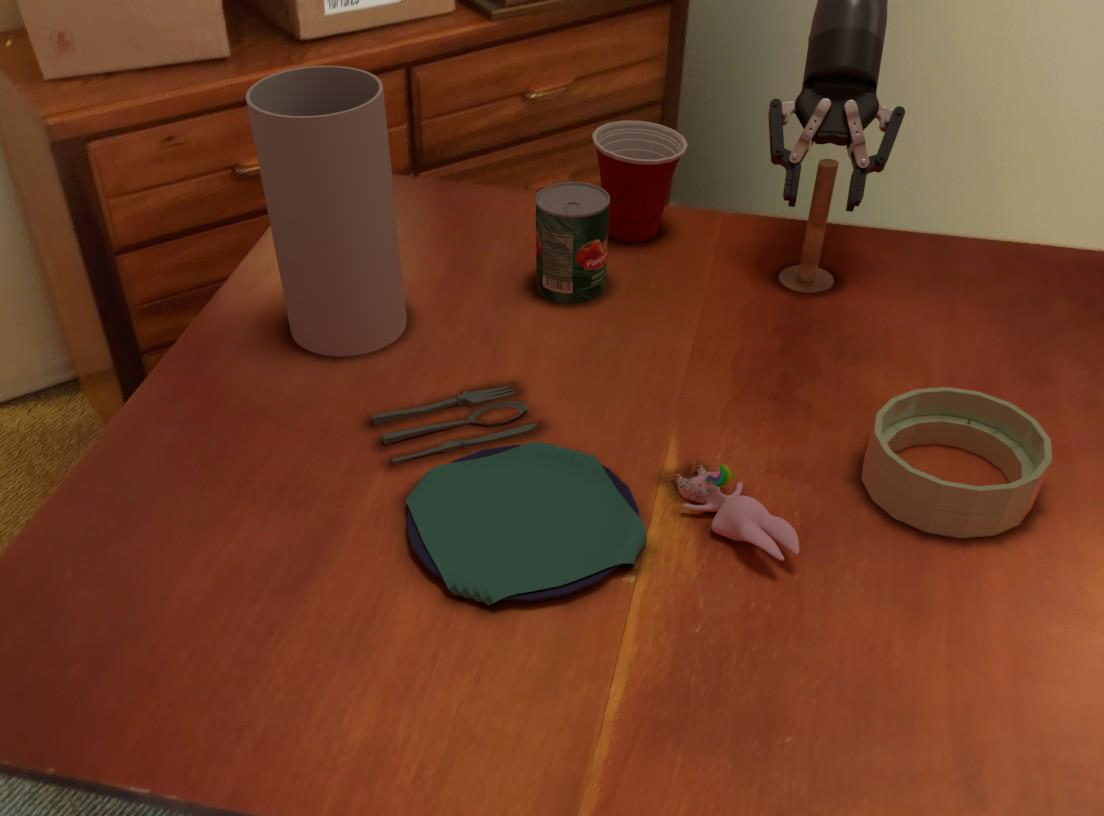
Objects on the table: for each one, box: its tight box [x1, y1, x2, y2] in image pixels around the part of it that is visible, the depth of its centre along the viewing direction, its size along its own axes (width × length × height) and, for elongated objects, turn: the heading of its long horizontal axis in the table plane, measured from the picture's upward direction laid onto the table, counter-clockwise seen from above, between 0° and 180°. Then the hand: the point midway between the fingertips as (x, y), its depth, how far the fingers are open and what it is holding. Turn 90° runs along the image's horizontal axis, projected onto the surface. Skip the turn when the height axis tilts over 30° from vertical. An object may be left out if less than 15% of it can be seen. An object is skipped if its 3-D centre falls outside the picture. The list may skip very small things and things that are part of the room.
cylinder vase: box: [245, 65, 408, 357], centre depth 106 cm, size 12×12×25 cm
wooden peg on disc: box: [778, 158, 840, 295], centre depth 114 cm, size 6×6×14 cm
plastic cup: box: [592, 119, 689, 243], centre depth 124 cm, size 11×11×12 cm
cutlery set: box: [371, 384, 647, 606], centre depth 94 cm, size 20×30×2 cm, turn 21°
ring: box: [860, 386, 1053, 539], centre depth 92 cm, size 14×14×6 cm
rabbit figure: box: [668, 459, 800, 562], centre depth 89 cm, size 6×6×15 cm
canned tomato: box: [534, 181, 610, 305], centre depth 116 cm, size 8×8×11 cm
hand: (821, 205), depth 111 cm, fingers open, 5 cm apart
